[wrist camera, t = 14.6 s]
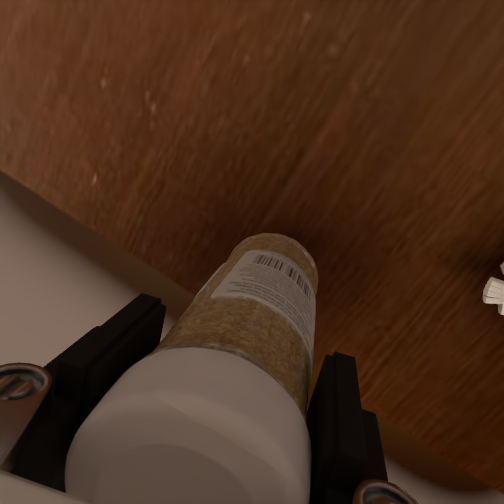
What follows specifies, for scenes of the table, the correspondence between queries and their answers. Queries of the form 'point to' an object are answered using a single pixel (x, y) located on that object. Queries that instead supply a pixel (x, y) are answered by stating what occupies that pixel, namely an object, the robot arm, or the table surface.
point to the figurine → (495, 292)
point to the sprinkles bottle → (214, 395)
